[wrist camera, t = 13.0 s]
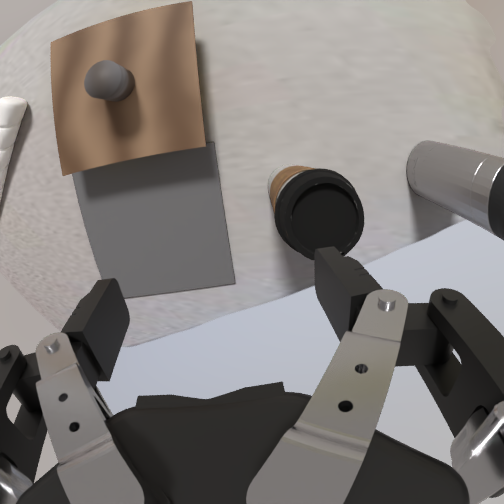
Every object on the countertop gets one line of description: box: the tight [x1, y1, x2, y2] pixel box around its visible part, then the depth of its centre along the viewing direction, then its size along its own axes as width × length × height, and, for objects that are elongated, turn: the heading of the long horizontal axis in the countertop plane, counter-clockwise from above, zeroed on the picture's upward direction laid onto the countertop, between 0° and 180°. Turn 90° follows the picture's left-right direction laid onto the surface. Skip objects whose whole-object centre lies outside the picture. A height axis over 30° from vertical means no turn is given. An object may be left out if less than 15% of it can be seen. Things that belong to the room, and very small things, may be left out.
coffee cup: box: [268, 164, 364, 260], centre depth 32 cm, size 8×8×15 cm
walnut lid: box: [51, 1, 206, 176], centre depth 25 cm, size 18×18×6 cm
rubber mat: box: [72, 142, 235, 298], centre depth 39 cm, size 20×20×1 cm
